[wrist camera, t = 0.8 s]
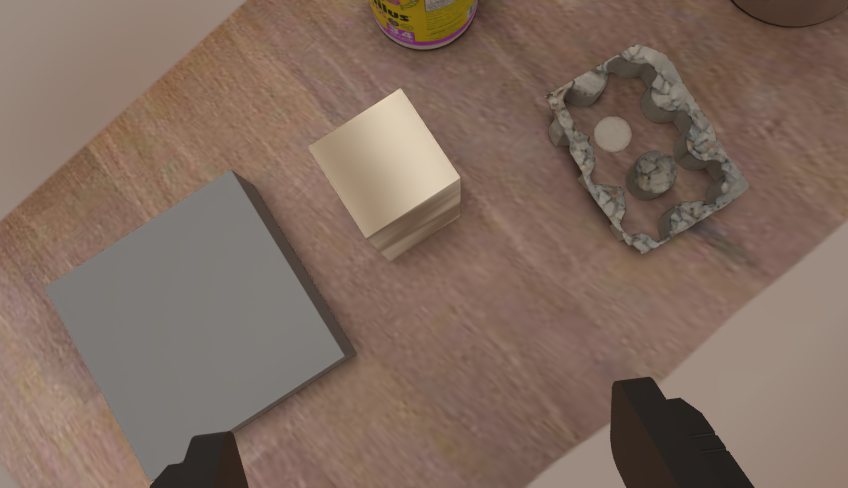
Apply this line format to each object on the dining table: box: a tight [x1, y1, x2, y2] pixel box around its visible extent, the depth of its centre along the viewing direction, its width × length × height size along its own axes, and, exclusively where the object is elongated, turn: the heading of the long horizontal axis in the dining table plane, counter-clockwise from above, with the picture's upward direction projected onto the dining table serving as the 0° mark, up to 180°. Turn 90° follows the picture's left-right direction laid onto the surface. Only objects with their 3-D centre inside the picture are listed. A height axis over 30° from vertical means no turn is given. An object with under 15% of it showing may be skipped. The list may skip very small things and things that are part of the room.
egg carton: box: [545, 44, 749, 254], centre depth 37 cm, size 11×8×4 cm
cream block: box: [308, 88, 461, 262], centre depth 35 cm, size 5×5×10 cm
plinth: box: [44, 170, 357, 482], centre depth 37 cm, size 12×12×4 cm
